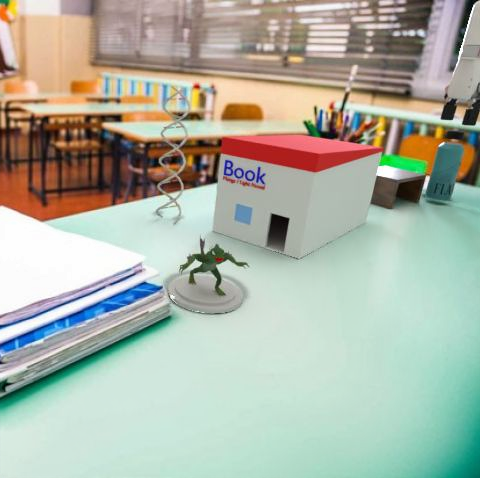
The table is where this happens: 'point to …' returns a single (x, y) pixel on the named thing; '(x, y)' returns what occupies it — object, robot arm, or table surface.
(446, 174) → the beverage bottle
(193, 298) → the monster figurine
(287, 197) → the bookstore
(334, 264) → the table surface
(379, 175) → the shelf
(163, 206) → the dna model
